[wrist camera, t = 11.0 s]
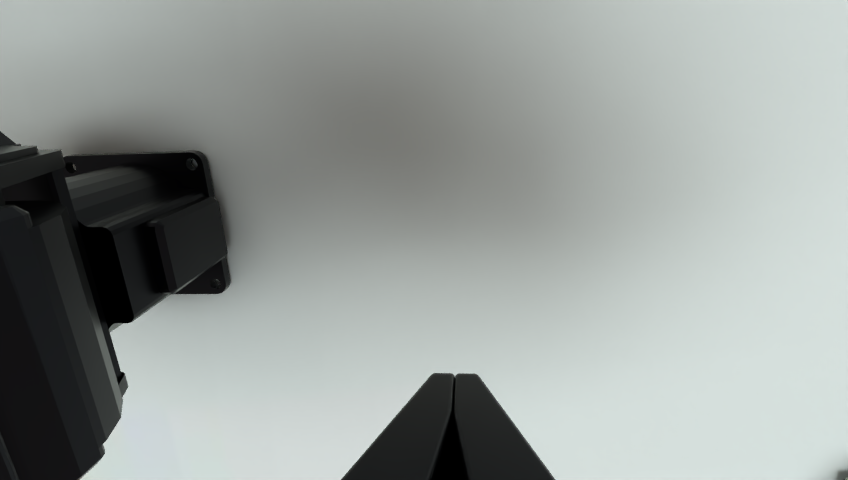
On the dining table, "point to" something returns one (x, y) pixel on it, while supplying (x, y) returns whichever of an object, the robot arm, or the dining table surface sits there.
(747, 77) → the dining table surface
